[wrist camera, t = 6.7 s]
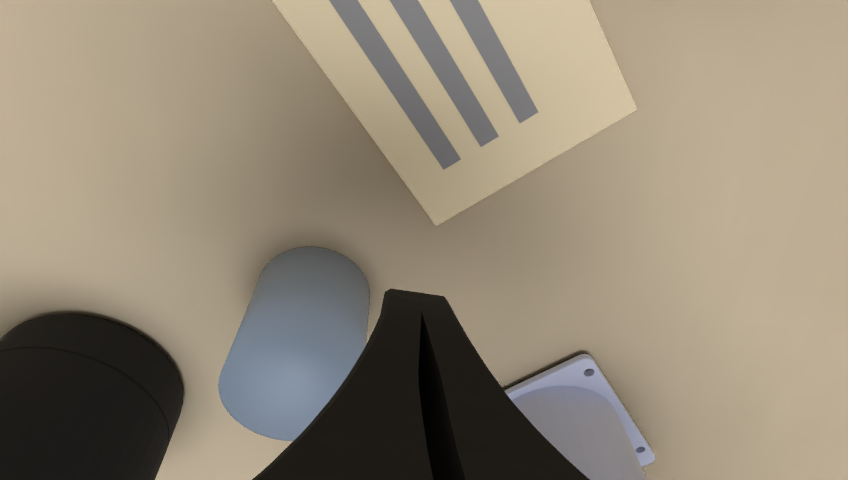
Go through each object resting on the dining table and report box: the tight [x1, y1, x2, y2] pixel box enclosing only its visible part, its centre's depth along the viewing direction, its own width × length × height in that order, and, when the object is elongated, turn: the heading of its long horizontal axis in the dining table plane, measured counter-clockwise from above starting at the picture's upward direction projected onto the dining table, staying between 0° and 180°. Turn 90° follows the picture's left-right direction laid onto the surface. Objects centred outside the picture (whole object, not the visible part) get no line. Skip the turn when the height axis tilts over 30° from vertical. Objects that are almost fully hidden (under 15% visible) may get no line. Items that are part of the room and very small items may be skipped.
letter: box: [272, 0, 637, 226], centre depth 19 cm, size 12×9×1 cm
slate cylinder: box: [218, 247, 370, 441], centre depth 21 cm, size 5×5×6 cm
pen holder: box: [0, 315, 183, 480], centre depth 22 cm, size 9×9×10 cm
